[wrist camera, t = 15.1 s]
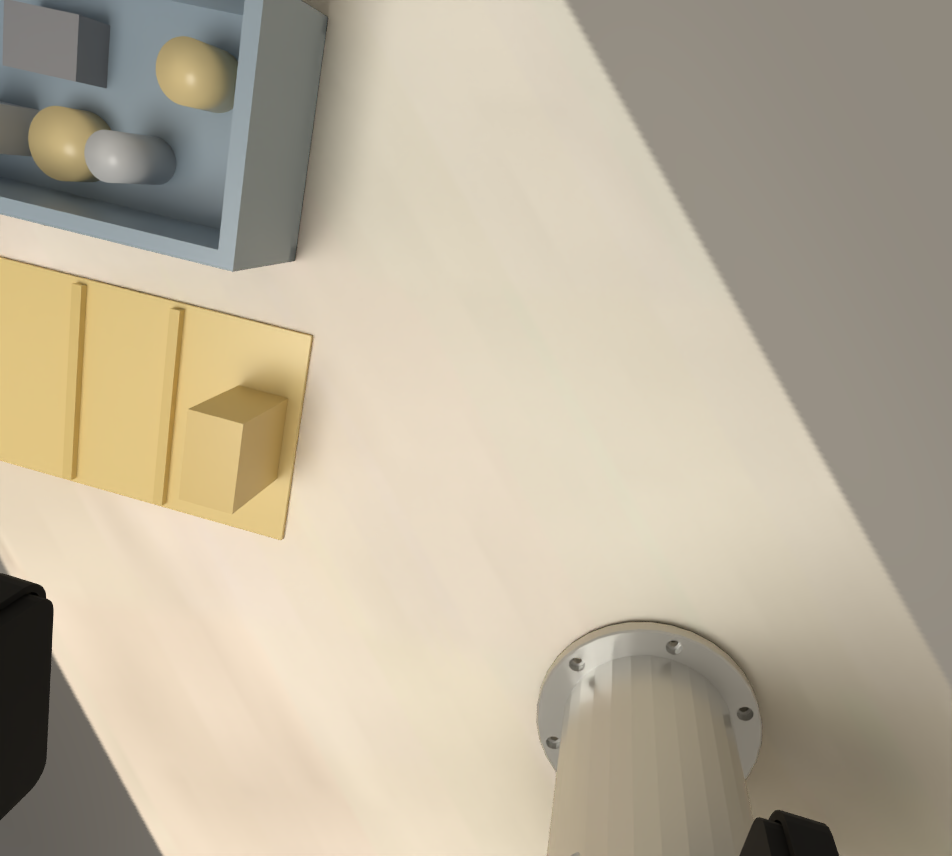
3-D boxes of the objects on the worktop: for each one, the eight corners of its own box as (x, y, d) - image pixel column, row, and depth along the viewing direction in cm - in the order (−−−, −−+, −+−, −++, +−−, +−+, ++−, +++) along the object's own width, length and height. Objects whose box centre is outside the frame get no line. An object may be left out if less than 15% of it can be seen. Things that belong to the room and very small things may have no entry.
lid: (316, 334, 43) (267, 354, 37) (286, 535, 47) (238, 582, 41) (-14, 251, 46) (-110, 257, 40) (-17, 449, 49) (-105, 482, 43)
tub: (328, 17, 38) (265, -23, 31) (294, 260, 42) (232, 271, 35) (-35, -58, 40) (-165, -109, 34) (-37, 180, 44) (-154, 175, 37)
